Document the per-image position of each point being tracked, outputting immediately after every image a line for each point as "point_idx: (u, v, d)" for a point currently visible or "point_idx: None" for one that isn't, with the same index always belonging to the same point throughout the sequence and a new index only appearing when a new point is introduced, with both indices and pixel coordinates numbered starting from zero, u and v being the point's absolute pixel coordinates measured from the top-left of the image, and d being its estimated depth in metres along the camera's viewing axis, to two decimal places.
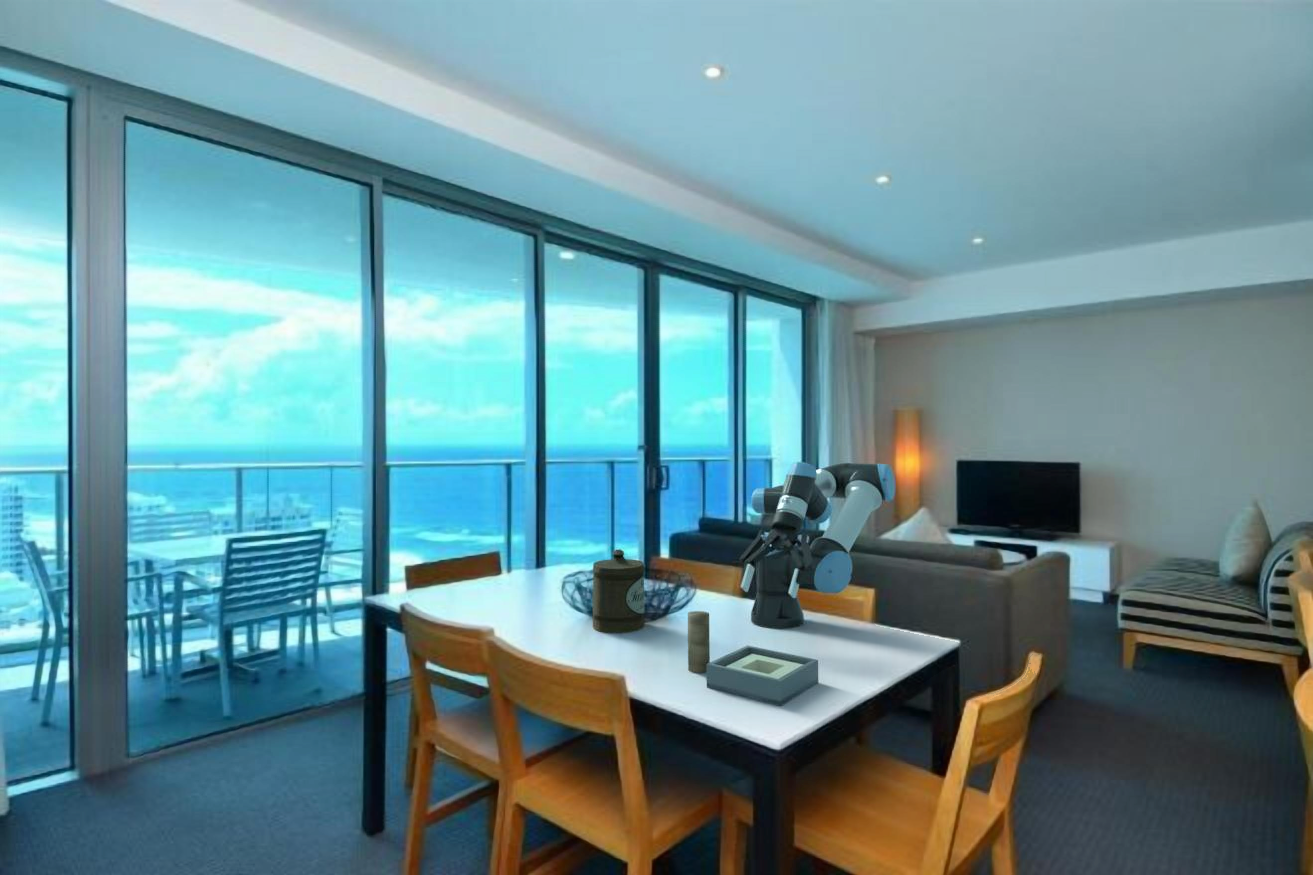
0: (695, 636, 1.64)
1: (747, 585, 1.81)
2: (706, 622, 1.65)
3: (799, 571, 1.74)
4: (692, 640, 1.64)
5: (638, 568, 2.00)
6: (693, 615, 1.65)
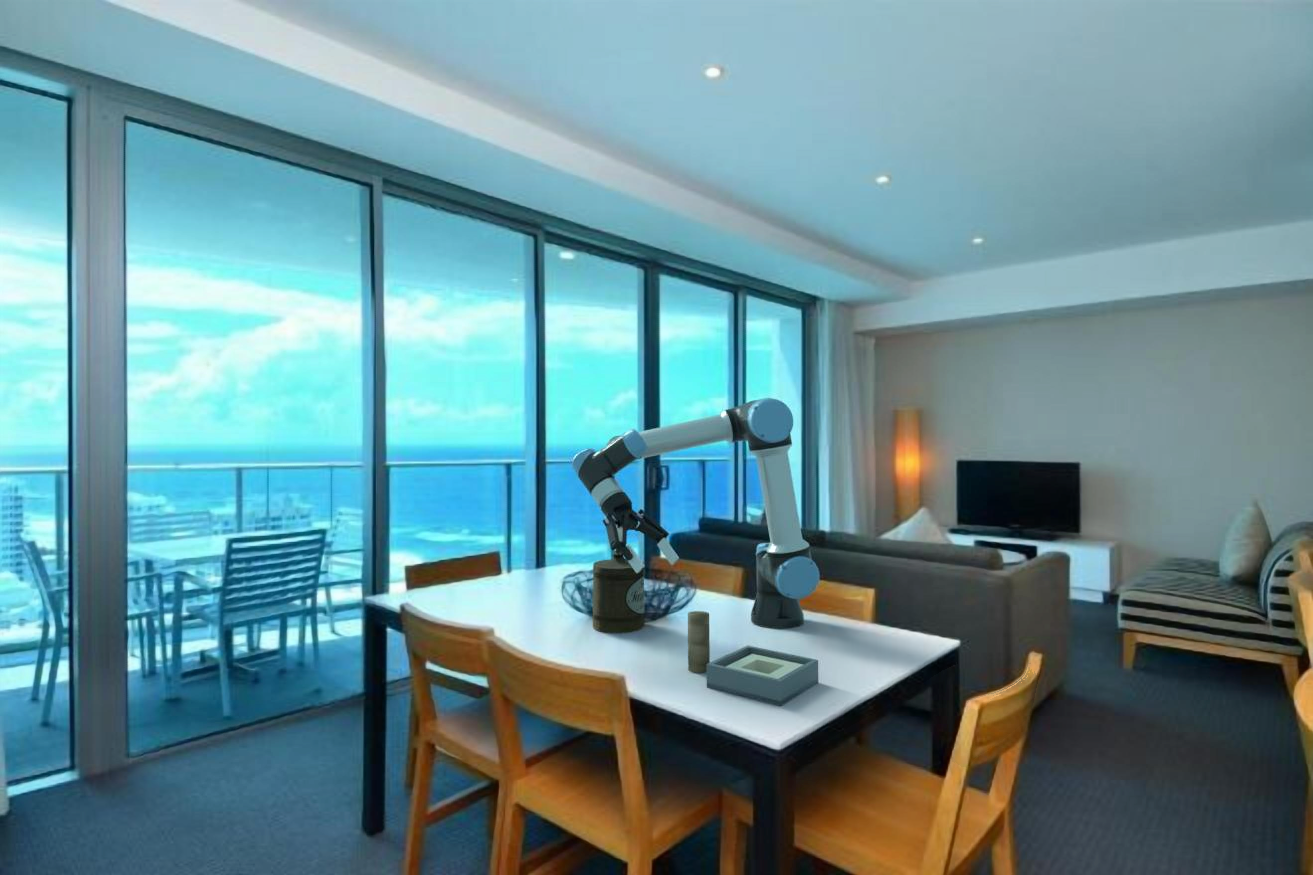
0: (695, 636, 1.64)
1: (672, 556, 1.79)
2: (706, 622, 1.65)
3: None
4: (692, 640, 1.64)
5: None
6: (693, 615, 1.65)
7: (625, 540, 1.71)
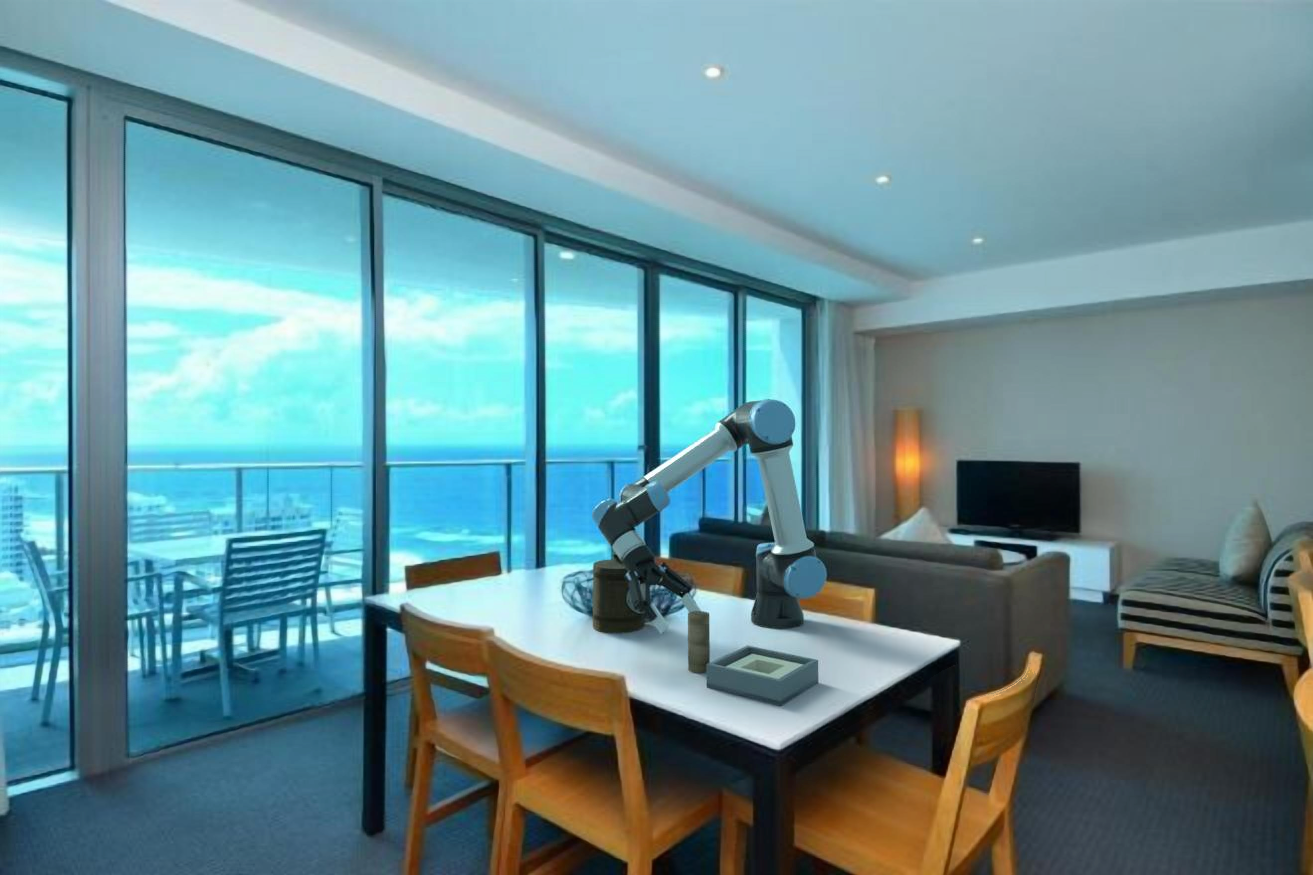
0: (695, 636, 1.64)
1: None
2: (706, 622, 1.65)
3: None
4: (692, 640, 1.64)
5: None
6: (693, 615, 1.65)
7: (649, 598, 1.66)
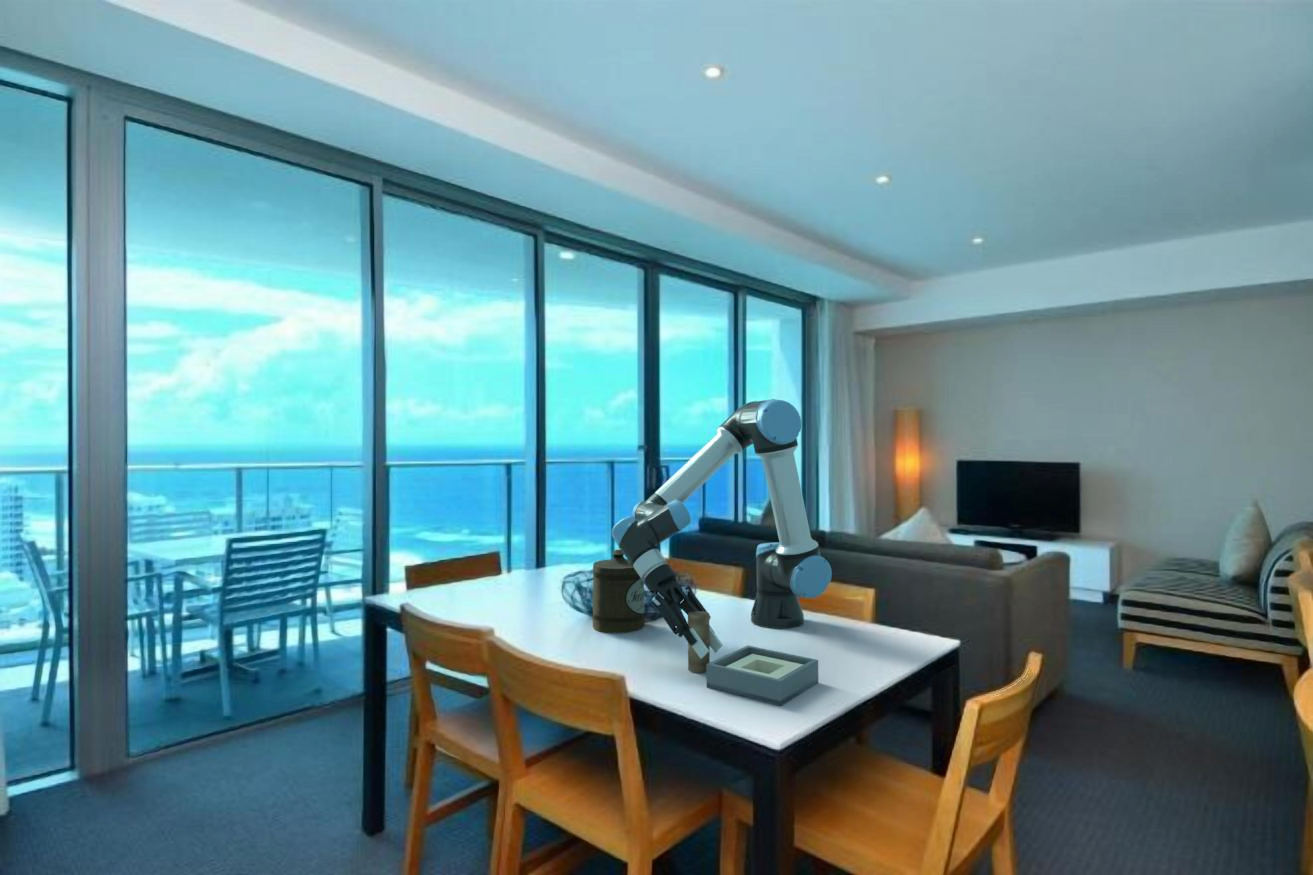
0: None
1: (715, 643, 1.66)
2: (706, 622, 1.65)
3: None
4: None
5: None
6: (693, 615, 1.65)
7: (686, 622, 1.65)
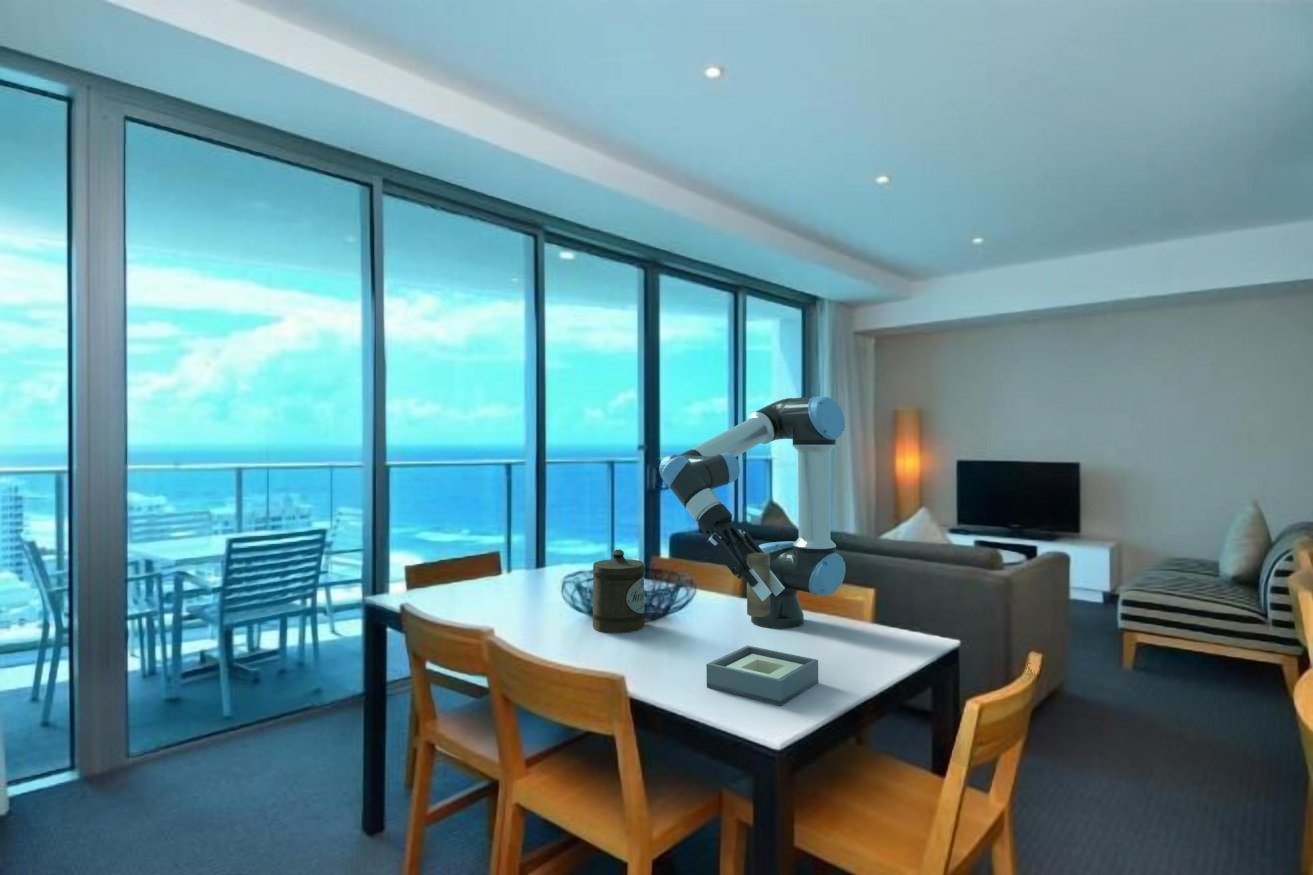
0: None
1: (776, 586, 1.56)
2: (767, 563, 1.54)
3: None
4: None
5: (638, 568, 2.00)
6: (753, 555, 1.55)
7: (745, 563, 1.54)
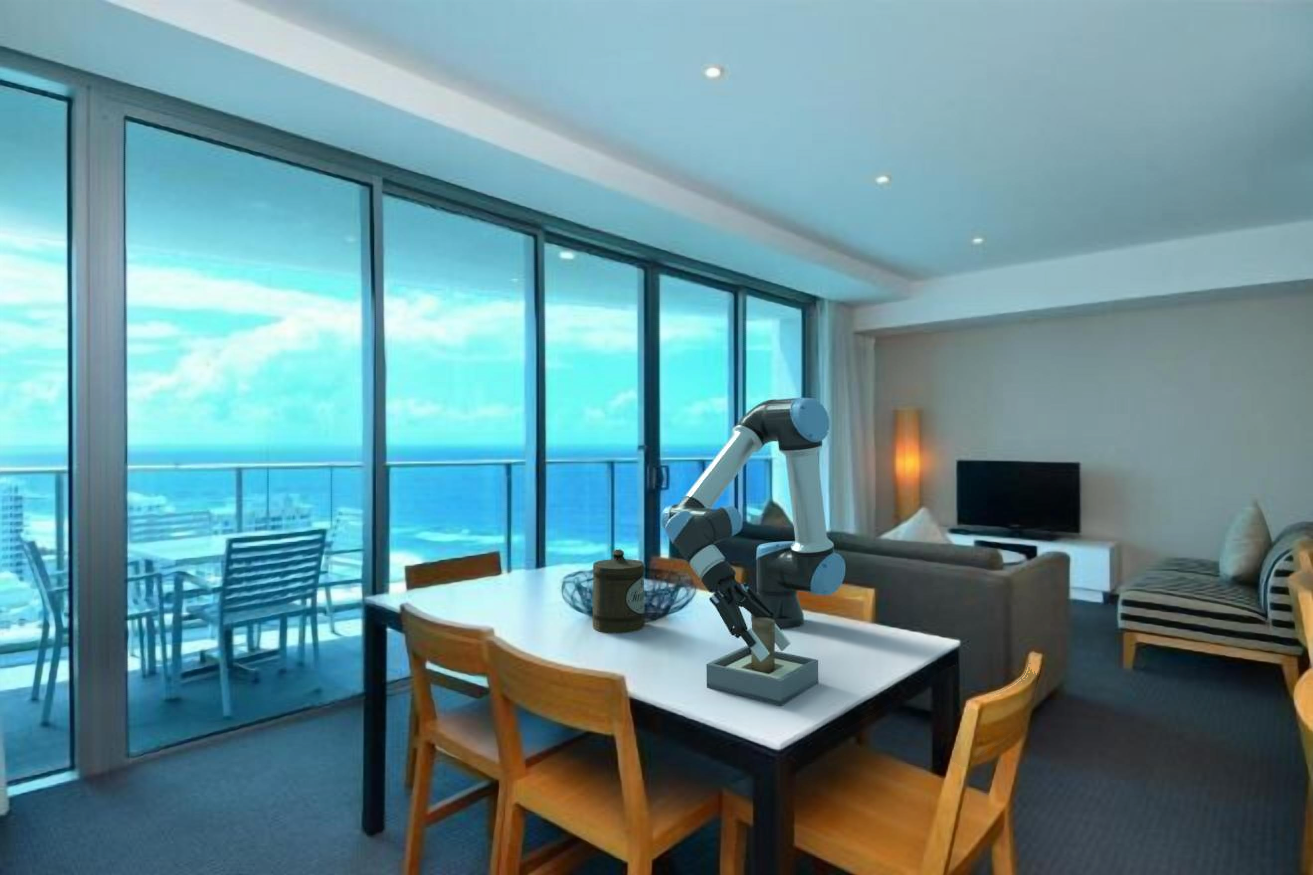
0: None
1: (782, 641, 1.57)
2: (772, 630, 1.54)
3: None
4: None
5: (638, 568, 2.00)
6: (758, 622, 1.54)
7: (744, 622, 1.53)
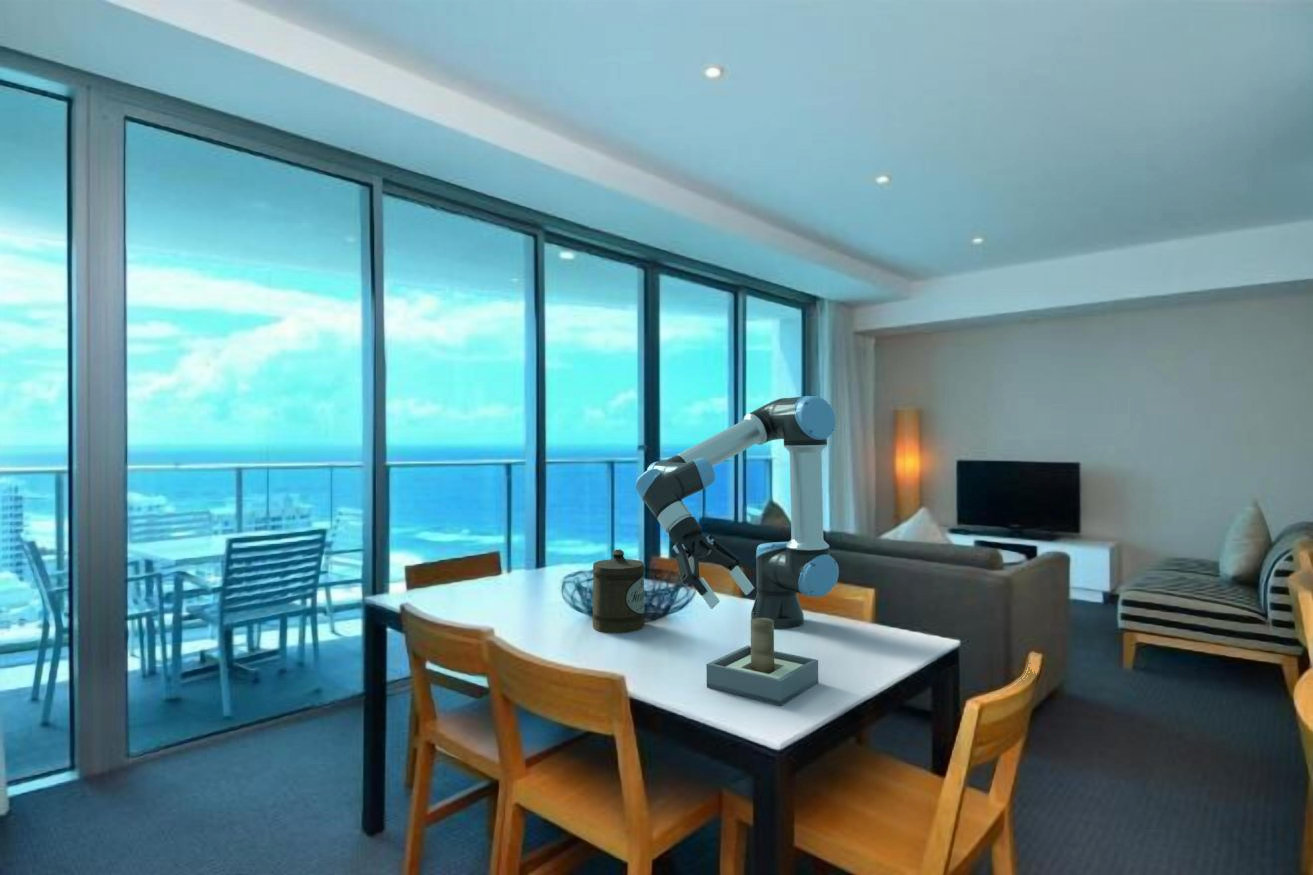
0: (759, 645, 1.53)
1: (746, 586, 1.66)
2: (771, 630, 1.54)
3: None
4: (756, 649, 1.54)
5: (638, 568, 2.00)
6: (757, 622, 1.54)
7: (698, 572, 1.58)
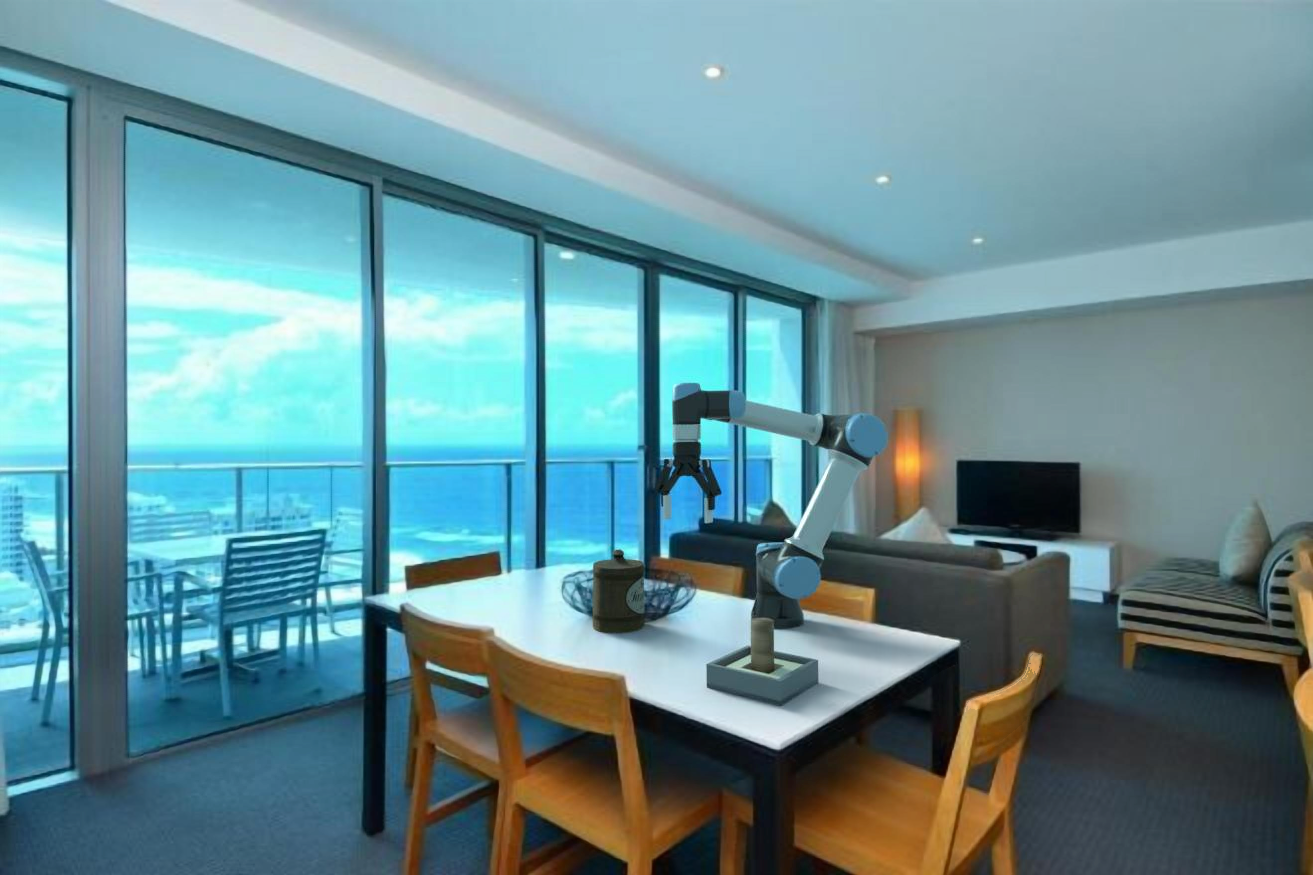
0: (759, 645, 1.53)
1: None
2: (771, 630, 1.54)
3: None
4: (756, 649, 1.54)
5: (638, 568, 2.00)
6: (757, 622, 1.54)
7: (664, 490, 1.93)
